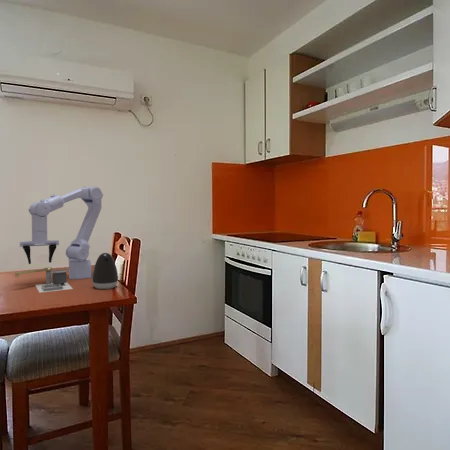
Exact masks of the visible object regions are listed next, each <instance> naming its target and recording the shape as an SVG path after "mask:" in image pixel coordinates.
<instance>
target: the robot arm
mask: <svg viewBox="0 0 450 450" xmlns="http://www.w3.org/2000/svg"><path fill="white" fill-rule="evenodd" d="M103 196H104V194H103V192H102V190H101V188H100V187H99V186H82V187H79V188H78V187H77V188H76V189H73V190H72V191H69V192H68V193H67V192H66V193H65V194H63V195H61V196H60V195H58V194H57V195H56V194H51V195H50V197H48V198H46V199H44V198H43V199H40V200H39V202H37V201H36V202H32V203H31V205H29V208H28V212H29V214H30V215H31V240H28V241H27V240H26V241H20V242H19V248H22V249H23V251H24V253H25V255H26V258H27V261H28V265H31V264H32V261H31V260H32V259H31V247H40V246H42V247H44V246H48V263H50V264H51V263H52V260H53V255H54V253H55V251H56V249H57V246H59V245H60V241H59V240H48V215H49V214H50V213H52V212H54V211H56V210H59V209H61V208H63V207H64V205H65V204H66V203H68V202H71V201H74V200H76V199H81V200H82V201H83V202H84V203H85V205H86V206H87V210H86V213H85V216H84V218H83V219H82V220H83V221H82V223H81V226H80V228H79V229H78V233H77V234H76V238H74V239H73V240H72V241H71V242H70V245H69V246H68V247H66V249H65V256H66V257H67V258H68V278H69V279H70V280H81V279H89V278H92V261H91V260H90V259H88V257H89V255H90V254H89V253H90V248H91V246H90V244H89V240H90V238H91V235H92V233H93V231H94V228H95V225H96V223H97V221H98V218H99V215H100V213H101V210H102V199H103Z"/></svg>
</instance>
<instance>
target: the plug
mask: <svg viewBox="0 0 450 450" xmlns="http://www.w3.org/2000/svg"><path fill="white" fill-rule="evenodd" d="M67 273H68V270H67V269H57V270H51V279H52V283H53V284H61V283H68V282H67V281H68V280H67Z"/></svg>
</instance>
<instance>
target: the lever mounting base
mask: <svg viewBox="0 0 450 450" xmlns="http://www.w3.org/2000/svg"><path fill="white" fill-rule="evenodd" d="M51 271H52V270H47V271H45V283H40V284H35V287H36V289H37V291H38V293H39V294H40V293H48V292H57V291H66V290H73V289H74V288H73V287H72V286H71V285H70V284H69V282H67V283H64V284H65V286H62V285H61V284H53V282H52V273H51Z"/></svg>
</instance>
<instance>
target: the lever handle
mask: <svg viewBox="0 0 450 450" xmlns="http://www.w3.org/2000/svg"><path fill="white" fill-rule="evenodd" d="M47 270H51V271H53V267H43V268H36V269H31V270H23V271H15V272H14V277H15V278H19V275H26V274H31V273H40V272H46V271H47Z"/></svg>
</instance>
